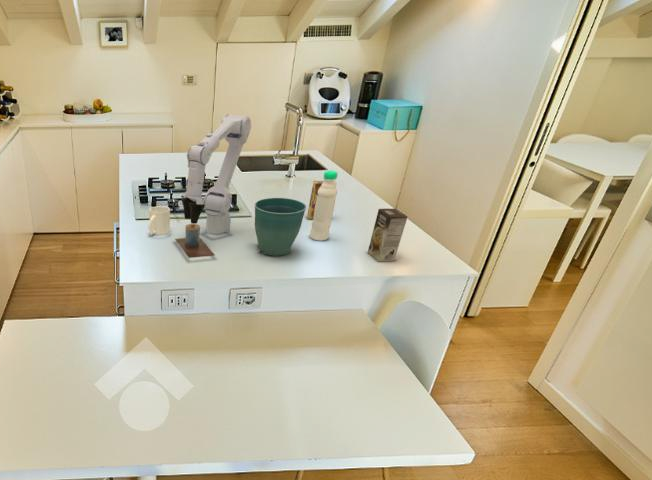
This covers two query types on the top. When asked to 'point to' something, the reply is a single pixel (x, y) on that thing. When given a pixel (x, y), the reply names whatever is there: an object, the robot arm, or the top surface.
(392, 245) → the coffee box
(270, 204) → the flower pot
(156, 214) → the mug
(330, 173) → the water bottle
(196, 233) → the sugar pot
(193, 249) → the cutting board
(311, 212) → the candy box
